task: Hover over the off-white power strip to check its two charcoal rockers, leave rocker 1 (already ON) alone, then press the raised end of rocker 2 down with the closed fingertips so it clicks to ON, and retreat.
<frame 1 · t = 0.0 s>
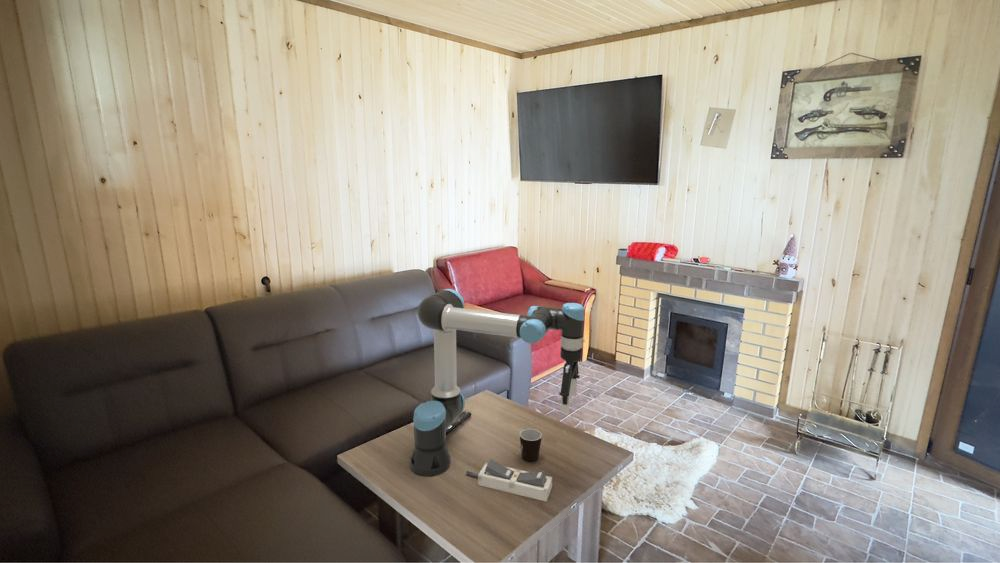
hand: (568, 403, 169), 28 cm above the table, fingers open, 13 cm apart
rocker 2: (531, 478, 164), point 5 cm above the table, hinge at -18.0°
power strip: (514, 486, 167), on the table
coffee mug: (530, 455, 185), on the table
rocker 1: (499, 470, 168), point 5 cm above the table, hinge at 18.0°
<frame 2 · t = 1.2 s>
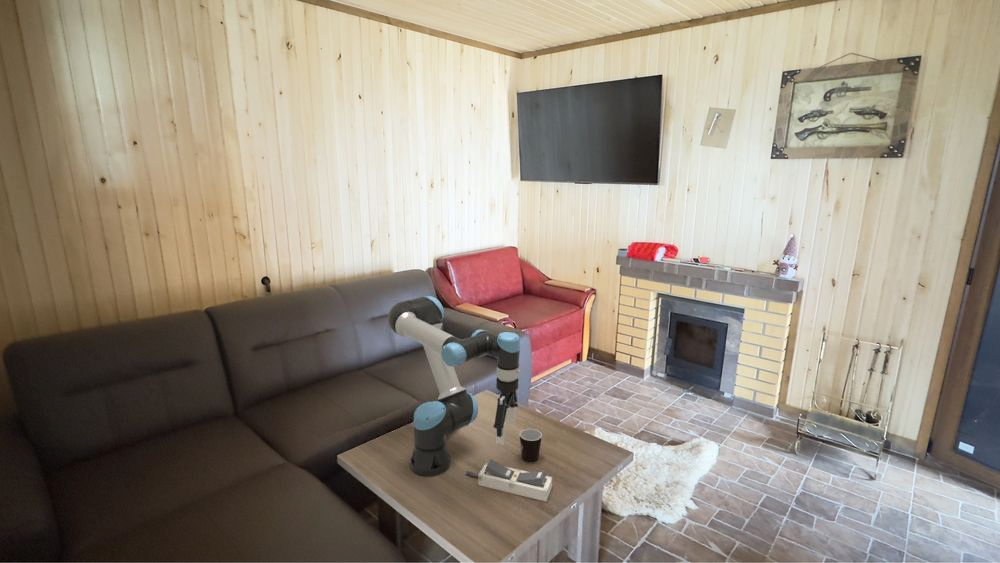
hand: (505, 433, 166), 19 cm above the table, fingers open, 13 cm apart
nothing on the table moved.
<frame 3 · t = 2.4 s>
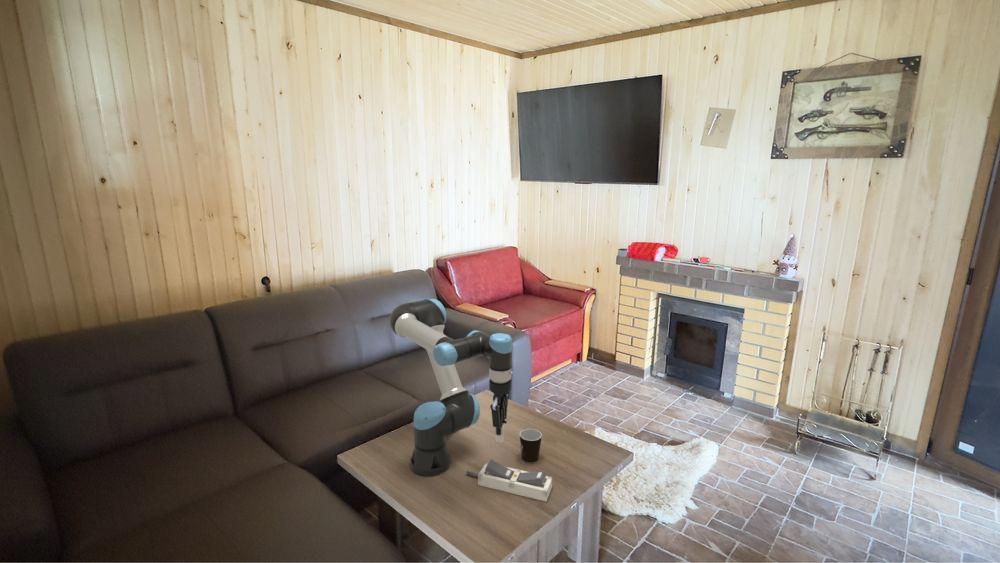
hand: (499, 441, 165), 16 cm above the table, fingers closed
nothing on the table moved.
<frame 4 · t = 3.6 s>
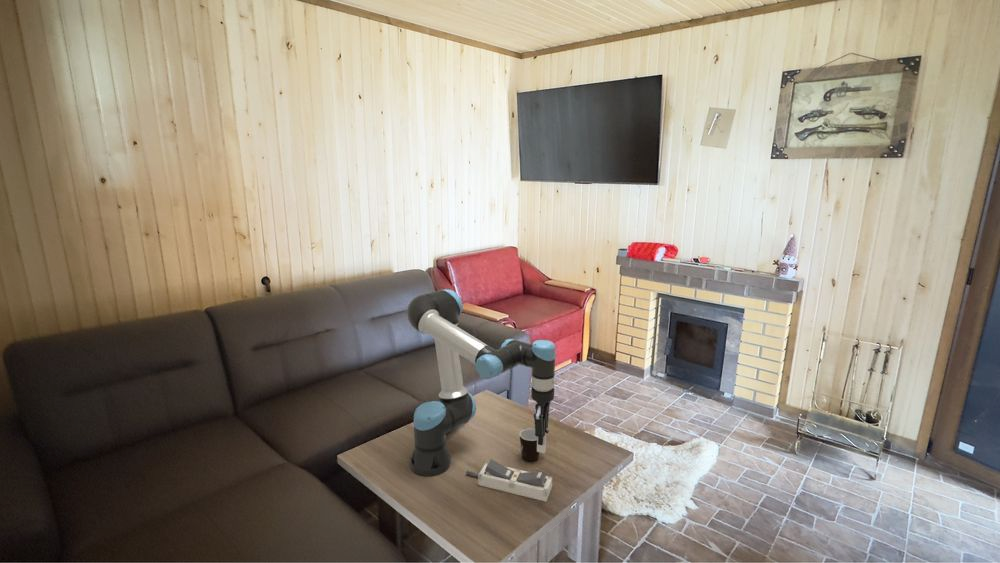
hand: (541, 451, 160), 16 cm above the table, fingers closed
nothing on the table moved.
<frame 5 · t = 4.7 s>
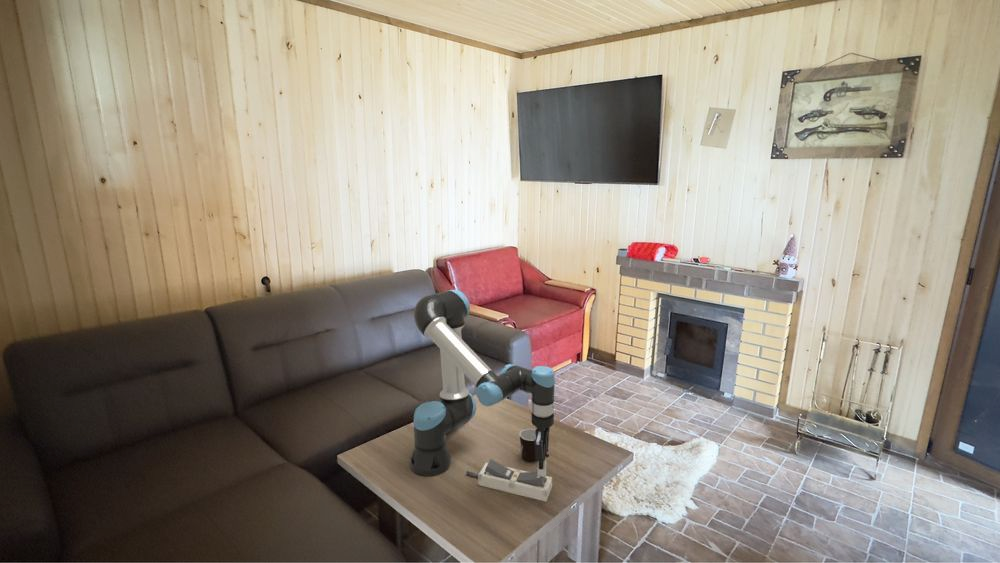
hand: (541, 475, 162), 7 cm above the table, fingers closed
rocker 2: (531, 478, 164), point 5 cm above the table, hinge at -16.1°, touching gripper
everything else where it was.
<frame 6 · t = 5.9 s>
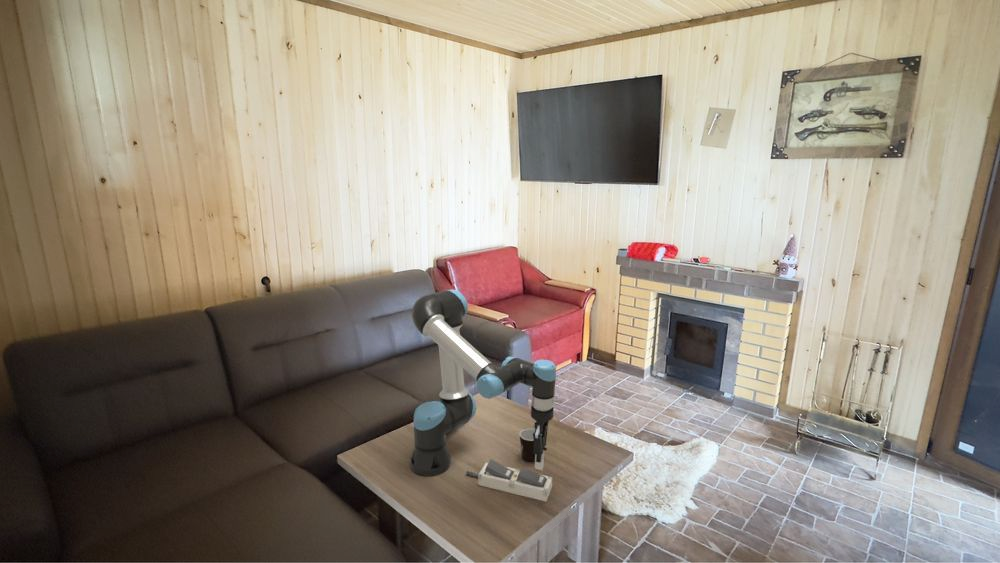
hand: (538, 468, 162), 9 cm above the table, fingers closed
rocker 2: (531, 478, 164), point 5 cm above the table, hinge at 11.1°
everything else where it was.
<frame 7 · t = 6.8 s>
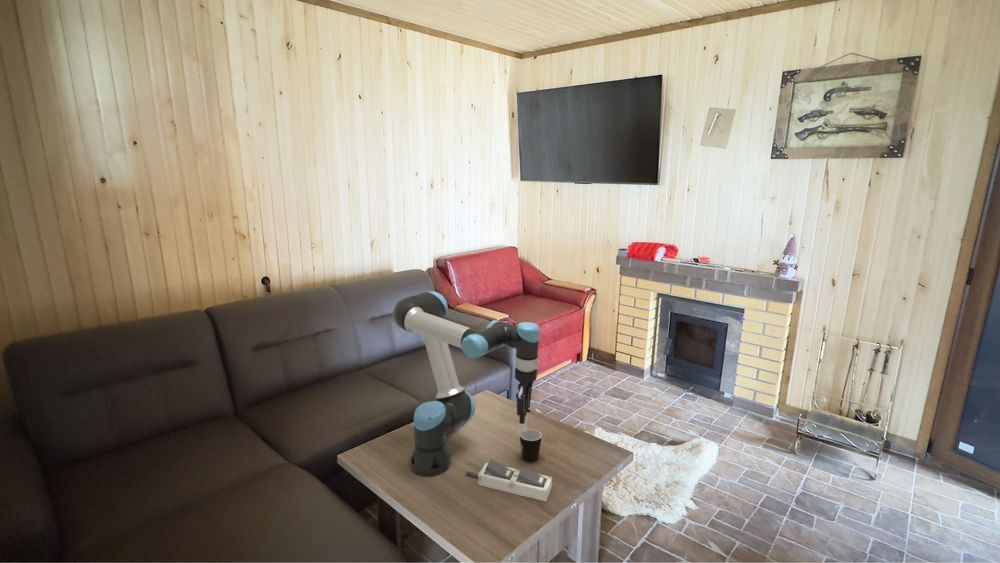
hand: (522, 429, 165), 20 cm above the table, fingers closed
rocker 2: (531, 478, 164), point 5 cm above the table, hinge at 14.2°
everything else where it was.
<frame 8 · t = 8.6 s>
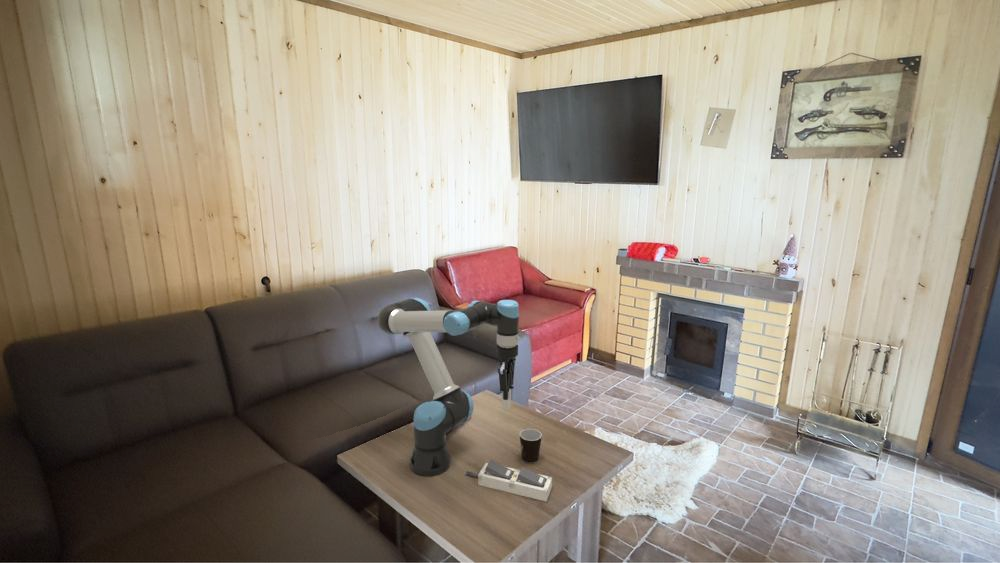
hand: (506, 406, 169), 26 cm above the table, fingers closed
rocker 2: (531, 478, 164), point 5 cm above the table, hinge at 15.2°
everything else where it was.
at the end: rocker 2 at +15° (first picture: -18°); rocker 1 at +18° (first picture: +18°); coffee mug moved 0.2 cm from its start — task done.
